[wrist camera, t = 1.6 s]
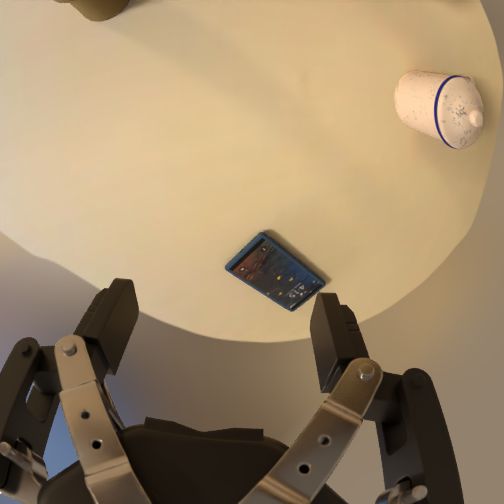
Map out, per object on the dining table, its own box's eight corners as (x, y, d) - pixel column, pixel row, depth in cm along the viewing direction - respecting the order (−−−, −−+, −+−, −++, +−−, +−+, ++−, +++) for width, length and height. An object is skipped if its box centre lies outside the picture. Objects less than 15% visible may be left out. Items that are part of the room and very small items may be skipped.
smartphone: (262, 232, 37) (327, 285, 44) (261, 229, 38) (325, 281, 45) (223, 270, 39) (292, 313, 47) (222, 266, 40) (290, 310, 47)
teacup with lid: (412, 142, 33) (470, 173, 24) (379, 93, 29) (443, 109, 20) (455, 97, 30) (514, 117, 20) (429, 47, 25) (492, 54, 16)
